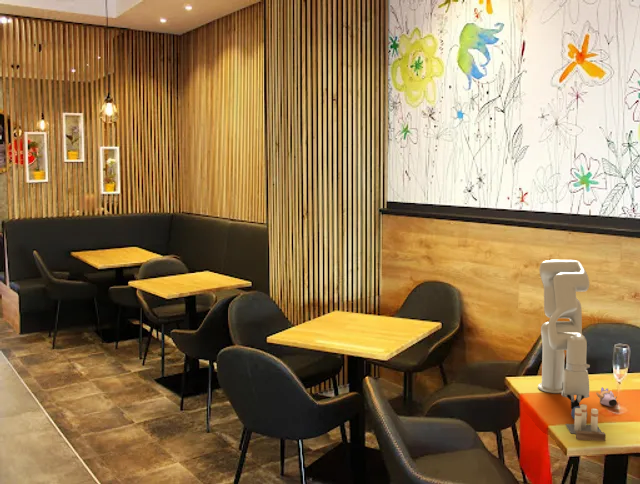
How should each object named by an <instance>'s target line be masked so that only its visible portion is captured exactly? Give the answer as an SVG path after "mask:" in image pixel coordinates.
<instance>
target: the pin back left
mask: <svg viewBox="0 0 640 484" xmlns="http://www.w3.org/2000/svg"><path fill="white" fill-rule="evenodd" d="M590 410H591V411H590V425H591V432H597V428H598V427H599V426H598V424H599V409H597V408H591V409H590Z"/></svg>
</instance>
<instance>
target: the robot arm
mask: <svg viewBox="0 0 640 484" xmlns="http://www.w3.org/2000/svg"><path fill="white" fill-rule="evenodd" d="M539 277H540V280H541V282H542V286H543V311H544V314H545V316H546V317H547V318H549V320H548V321H546V322H544V323H542V325H541V326H540V333H541V334H540V335H541V342H542V343H541V344H542V356H541V358H542V359H541V361H542V362H541V382H540V383H538V385H537V388H538V389H539V391H542V392H545V393H550V394H561V396H562V397H563V398H566V399H569V400H570V409H571V410H572V409H573V408H574V407H576V406H580V403H581V401H583V400H584V399H588V398H590V377H589V372H588V369H589V368H590V366H591V365H590V364H588V363H587V350H588V349H587V348H588V347H587V345H588V344H587V342H588V341H587V338H586V337H585V336H584V335H583V328H582V326H583V320H582V319H583V318H582V317H583V315H582V314H583V313H582V311H583V310H582V305H581V301H580V300H579V298H578V297H577V292H578V293H581V292H587V291H588V290H589V288H590V280H589V279H590V278H589V275H588V273H587V271H586V269H585V267H584V266H583V264H582V262H581V261H579V260H578V259H577V260H575V259H550V260H549V259H548V260H544V261H542V262H541V263H540V265H539ZM559 319H569V321H567V320H566V321H565V320H559ZM565 351H566V362H565ZM565 363H566V364H565Z"/></svg>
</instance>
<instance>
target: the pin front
mask: <svg viewBox="0 0 640 484" xmlns="http://www.w3.org/2000/svg"><path fill="white" fill-rule="evenodd" d="M579 406H580V409H582V416H581V428H586V425H587V418H586V417H588V405H587V404H579Z"/></svg>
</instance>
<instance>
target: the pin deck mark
mask: <svg viewBox="0 0 640 484" xmlns="http://www.w3.org/2000/svg"><path fill="white" fill-rule="evenodd" d="M564 425H565V426H566V429H567V430H568V431H569V433H570V434H571V435H576V432H575V431H574V423H565V424H564ZM581 431H587V432H591V424H586V428H581ZM597 432H603V431H602V430H601V429H600V427H599V426H598V428H597Z"/></svg>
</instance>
